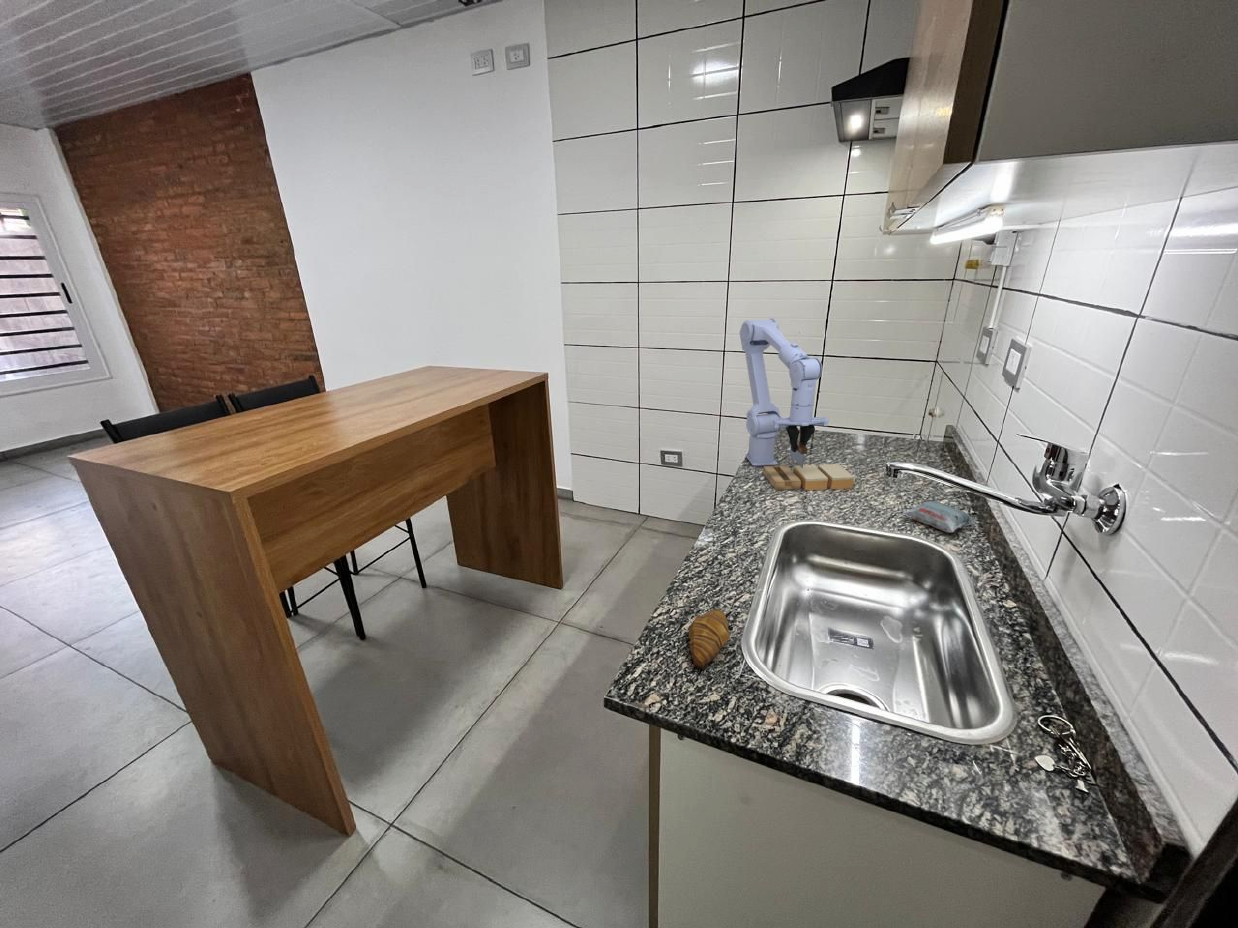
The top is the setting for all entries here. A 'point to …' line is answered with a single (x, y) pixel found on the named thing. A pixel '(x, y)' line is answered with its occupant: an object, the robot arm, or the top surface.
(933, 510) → the packaged food
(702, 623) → the croissant
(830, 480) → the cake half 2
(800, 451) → the knife
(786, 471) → the knife block
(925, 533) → the top surface
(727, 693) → the top surface
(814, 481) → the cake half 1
